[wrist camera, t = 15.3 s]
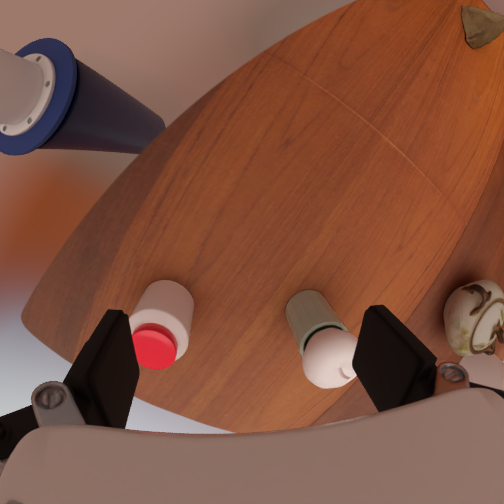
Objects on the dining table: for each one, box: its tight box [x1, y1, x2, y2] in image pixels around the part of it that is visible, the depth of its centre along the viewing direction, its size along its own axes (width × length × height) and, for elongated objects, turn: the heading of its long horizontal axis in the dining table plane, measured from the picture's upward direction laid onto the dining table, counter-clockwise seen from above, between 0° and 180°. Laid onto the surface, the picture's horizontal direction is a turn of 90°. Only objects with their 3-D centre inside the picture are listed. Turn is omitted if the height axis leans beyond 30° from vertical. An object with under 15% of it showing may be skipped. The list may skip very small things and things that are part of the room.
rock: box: [461, 6, 504, 49], centre depth 25 cm, size 11×9×10 cm
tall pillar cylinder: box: [459, 353, 504, 391], centre depth 40 cm, size 11×11×25 cm
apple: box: [302, 328, 358, 388], centre depth 29 cm, size 7×7×8 cm
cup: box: [285, 290, 349, 358], centre depth 37 cm, size 6×6×9 cm
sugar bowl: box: [443, 280, 504, 357], centre depth 38 cm, size 20×15×15 cm
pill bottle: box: [129, 280, 194, 369], centre depth 34 cm, size 8×8×11 cm
